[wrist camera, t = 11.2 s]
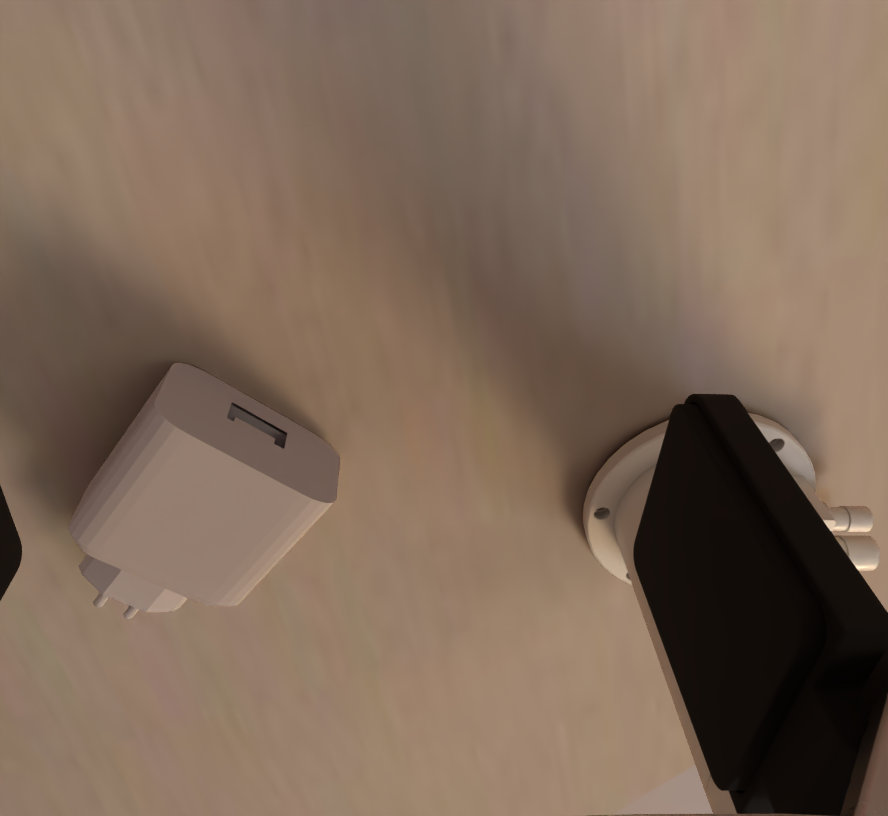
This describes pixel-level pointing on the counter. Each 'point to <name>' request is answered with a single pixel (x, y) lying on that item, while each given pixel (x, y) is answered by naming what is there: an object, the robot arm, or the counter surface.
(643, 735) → the counter surface
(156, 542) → the charger
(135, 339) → the counter surface
